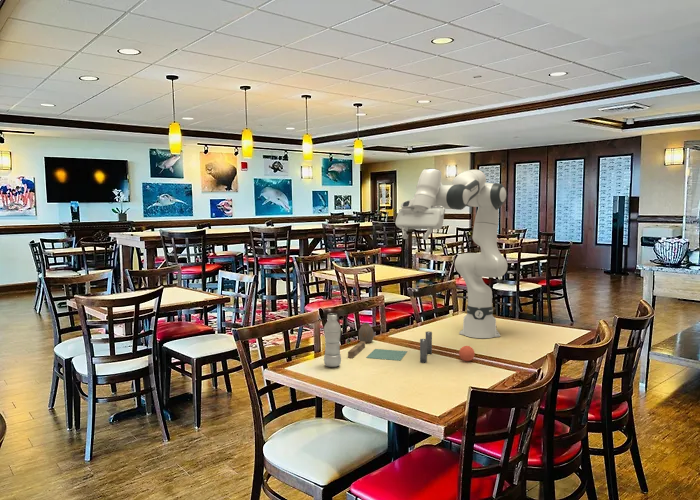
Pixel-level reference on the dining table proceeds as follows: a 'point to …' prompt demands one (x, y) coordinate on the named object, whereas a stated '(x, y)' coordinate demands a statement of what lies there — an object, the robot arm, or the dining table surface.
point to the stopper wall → (356, 349)
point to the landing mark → (387, 354)
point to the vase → (366, 333)
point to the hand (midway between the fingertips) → (414, 238)
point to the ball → (466, 353)
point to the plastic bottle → (332, 341)
